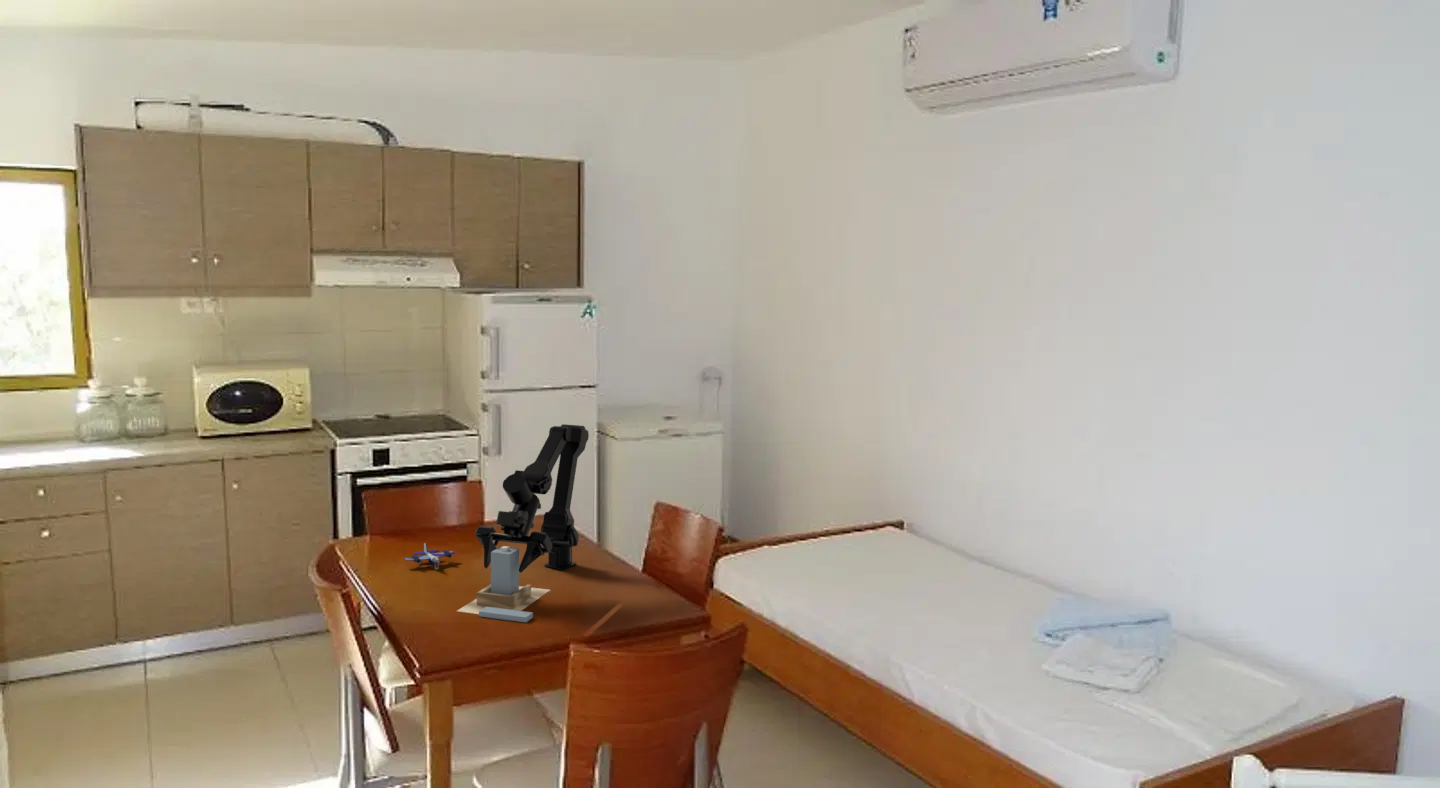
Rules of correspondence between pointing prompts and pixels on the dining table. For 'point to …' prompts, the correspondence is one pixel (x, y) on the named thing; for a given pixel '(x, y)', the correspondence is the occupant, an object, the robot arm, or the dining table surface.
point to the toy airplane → (430, 556)
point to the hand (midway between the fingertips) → (502, 569)
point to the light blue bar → (505, 614)
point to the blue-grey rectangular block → (505, 570)
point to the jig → (504, 599)
